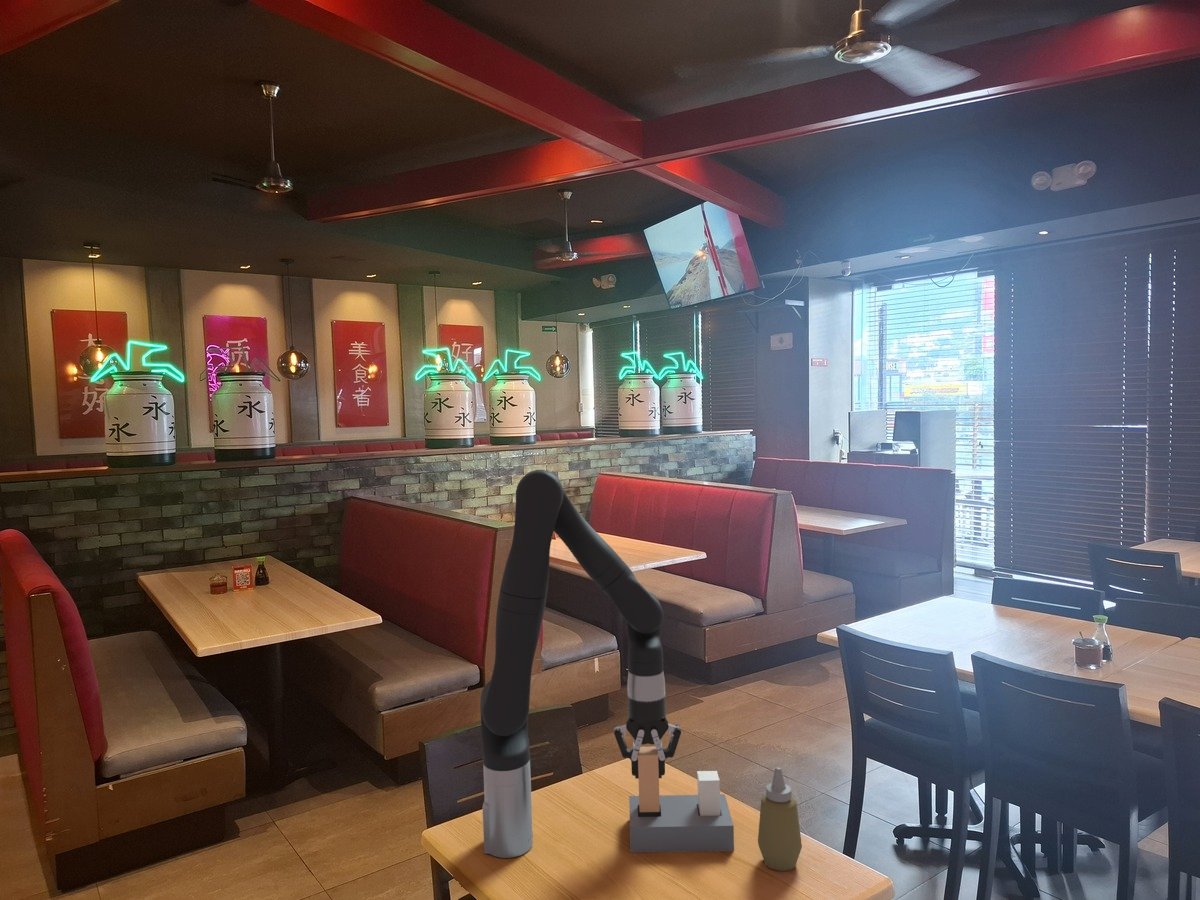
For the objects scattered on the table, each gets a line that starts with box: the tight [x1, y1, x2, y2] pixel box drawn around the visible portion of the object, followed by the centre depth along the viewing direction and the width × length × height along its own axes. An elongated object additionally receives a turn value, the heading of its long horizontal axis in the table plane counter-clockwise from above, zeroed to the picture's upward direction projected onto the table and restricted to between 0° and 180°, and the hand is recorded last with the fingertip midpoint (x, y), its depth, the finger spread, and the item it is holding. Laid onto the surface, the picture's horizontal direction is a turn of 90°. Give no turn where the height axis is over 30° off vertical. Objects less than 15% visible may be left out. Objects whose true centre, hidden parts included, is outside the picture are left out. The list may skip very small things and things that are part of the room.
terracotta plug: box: [637, 745, 660, 812], centre depth 152 cm, size 4×4×12 cm
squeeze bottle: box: [757, 767, 803, 872], centre depth 142 cm, size 8×8×18 cm
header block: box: [628, 793, 735, 853], centre depth 153 cm, size 20×12×5 cm, turn 89°
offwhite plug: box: [696, 770, 721, 816], centre depth 152 cm, size 4×4×12 cm
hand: (648, 776), depth 152 cm, fingers closed on terracotta plug, 4 cm apart
